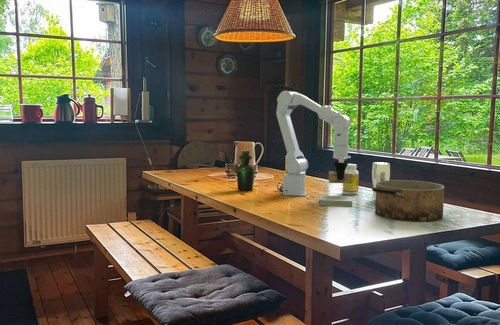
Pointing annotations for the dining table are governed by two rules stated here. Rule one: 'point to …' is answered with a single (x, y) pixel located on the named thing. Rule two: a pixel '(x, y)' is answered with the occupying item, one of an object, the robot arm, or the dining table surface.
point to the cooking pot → (409, 200)
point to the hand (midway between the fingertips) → (339, 178)
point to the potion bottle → (245, 172)
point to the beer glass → (380, 174)
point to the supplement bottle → (352, 188)
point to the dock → (336, 200)
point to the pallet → (334, 179)
